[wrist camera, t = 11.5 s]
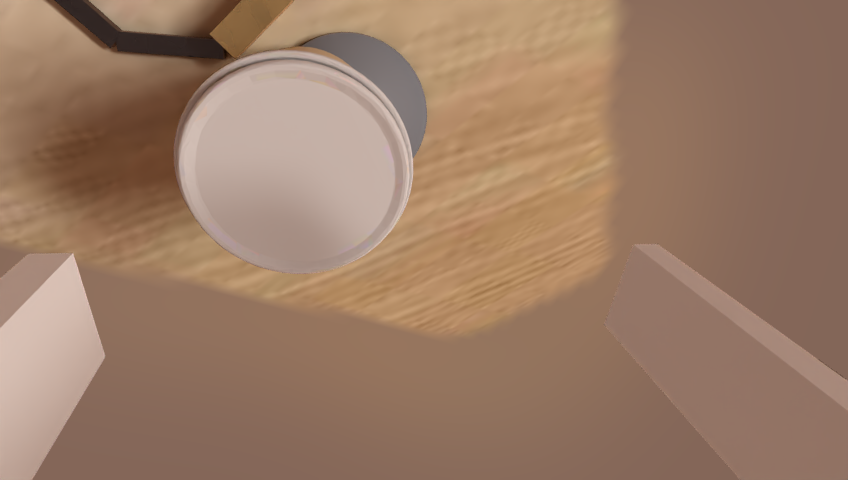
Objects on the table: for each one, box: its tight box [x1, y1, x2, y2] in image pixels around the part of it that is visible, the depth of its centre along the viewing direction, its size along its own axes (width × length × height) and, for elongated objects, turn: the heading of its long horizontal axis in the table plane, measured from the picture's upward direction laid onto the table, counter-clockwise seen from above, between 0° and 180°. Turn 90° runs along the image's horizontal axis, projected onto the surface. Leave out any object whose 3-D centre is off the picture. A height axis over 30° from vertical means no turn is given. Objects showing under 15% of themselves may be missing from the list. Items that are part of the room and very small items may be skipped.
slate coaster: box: [300, 32, 427, 158], centre depth 28 cm, size 10×10×1 cm
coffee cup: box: [174, 47, 413, 274], centre depth 22 cm, size 9×9×12 cm
